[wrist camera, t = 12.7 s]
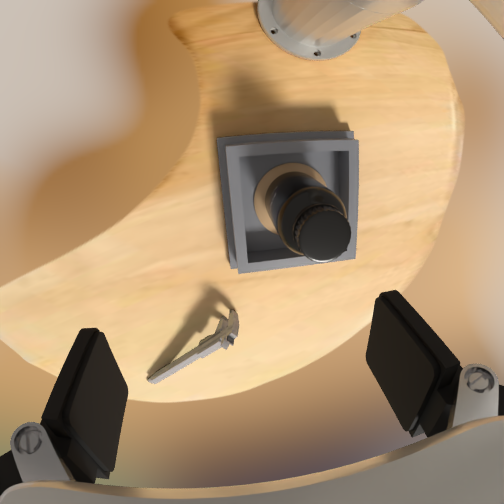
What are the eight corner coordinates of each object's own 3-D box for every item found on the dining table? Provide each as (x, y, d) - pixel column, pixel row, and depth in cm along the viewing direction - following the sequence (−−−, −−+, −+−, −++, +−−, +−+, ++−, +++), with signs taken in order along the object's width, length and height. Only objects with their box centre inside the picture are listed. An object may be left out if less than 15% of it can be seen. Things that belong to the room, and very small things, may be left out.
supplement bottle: (253, 188, 35) (270, 221, 24) (305, 160, 35) (346, 180, 24) (279, 237, 38) (305, 286, 27) (329, 210, 37) (373, 249, 26)
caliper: (231, 306, 43) (235, 334, 37) (237, 310, 44) (241, 339, 38) (146, 378, 47) (142, 406, 42) (152, 381, 48) (148, 410, 42)
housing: (216, 137, 34) (217, 139, 30) (350, 130, 35) (364, 133, 31) (230, 265, 40) (232, 280, 37) (348, 250, 41) (360, 263, 38)
